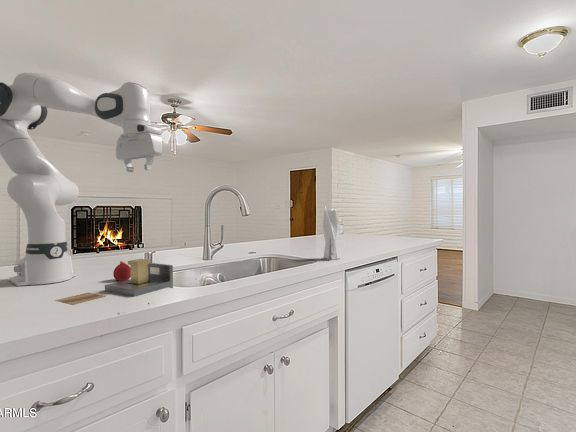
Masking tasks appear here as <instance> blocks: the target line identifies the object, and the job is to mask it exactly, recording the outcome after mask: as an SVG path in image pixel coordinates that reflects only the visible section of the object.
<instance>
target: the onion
mask: <svg viewBox="0 0 576 432" xmlns="http://www.w3.org/2000/svg"><path fill="white" fill-rule="evenodd" d="M112 274H113V278H114V279H115V280H116V281H117V282H121V281H126V280H130V279H131V268H130V265H128V263H126V262H124V261H123V260H121V261H119V264H118V265H116V266H115V268H114V270H113V273H112Z"/></svg>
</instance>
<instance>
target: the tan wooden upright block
mask: <svg viewBox="0 0 576 432" xmlns="http://www.w3.org/2000/svg"><path fill="white" fill-rule="evenodd" d="M150 263H151V259H148V258H147V259H146V258H138V259H131V260H130V259H129V260H127V265H128V266H129V267H130V268H131V277H130V279H131V285H137V286H138V285H142V284H146V283H148V264H150Z"/></svg>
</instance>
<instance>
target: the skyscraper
mask: <svg viewBox="0 0 576 432" xmlns="http://www.w3.org/2000/svg"><path fill="white" fill-rule="evenodd" d="M323 213H324V214H323V221H322V222H323V223H322V224H323V225H322V229H323V238H324V242H325V244H324V251H323V257H321V258H320V260H323V259H324V261H329V260H333V261H338V260H337V259H339V260H341V258H339V257H338V253H337V252H338V251H337V246H336V244H337V243H336V239H337V235H338V225H339V223H338V213H337V209H336V208H334V209H333V208H327V206H326V205H324V212H323Z"/></svg>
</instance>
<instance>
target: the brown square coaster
mask: <svg viewBox="0 0 576 432" xmlns="http://www.w3.org/2000/svg"><path fill="white" fill-rule="evenodd" d="M106 297H107V296H106V295H102V294H98V293H97V294H96V293H93V292H85V293H82V294H76V295H72V296H68V297H64V298H58V299H54V301H55V302H59V303H64V304H67V305H71V306H73V305H74V306H75V305H78V304H82V303H86V302H89V301H90V302H91V301H95V300H99V299H102V298H106Z"/></svg>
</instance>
